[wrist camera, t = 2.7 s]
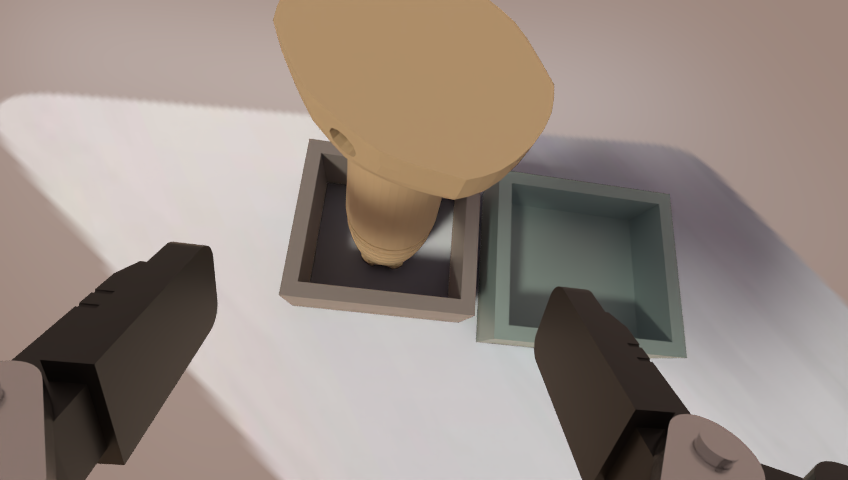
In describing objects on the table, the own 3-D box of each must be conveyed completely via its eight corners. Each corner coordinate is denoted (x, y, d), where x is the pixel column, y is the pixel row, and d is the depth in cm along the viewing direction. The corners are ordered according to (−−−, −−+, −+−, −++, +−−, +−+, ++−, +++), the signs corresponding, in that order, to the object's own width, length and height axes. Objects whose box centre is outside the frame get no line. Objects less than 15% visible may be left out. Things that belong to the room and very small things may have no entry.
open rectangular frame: (466, 190, 25) (481, 163, 21) (458, 322, 22) (474, 315, 19) (317, 169, 24) (309, 138, 20) (292, 305, 21) (278, 294, 18)
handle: (372, 180, 24) (381, -83, 10) (454, 250, 23) (590, 78, 9) (313, 237, 23) (225, 24, 8) (400, 313, 22) (463, 224, 8)
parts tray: (632, 214, 26) (669, 194, 23) (643, 358, 23) (686, 357, 20) (482, 193, 25) (499, 169, 22) (476, 341, 22) (494, 338, 19)
